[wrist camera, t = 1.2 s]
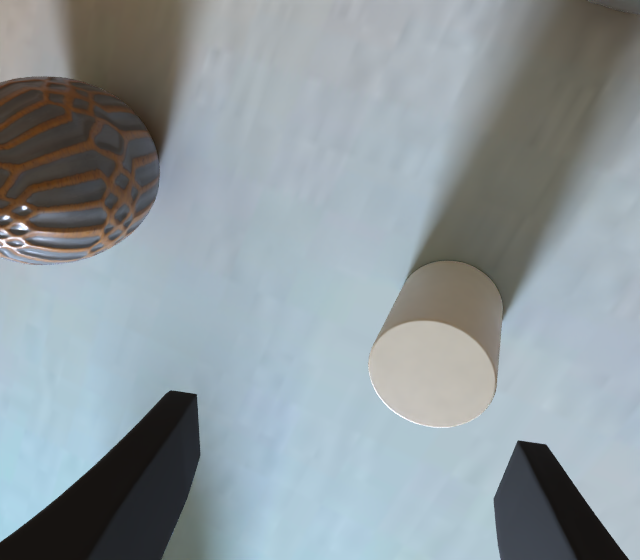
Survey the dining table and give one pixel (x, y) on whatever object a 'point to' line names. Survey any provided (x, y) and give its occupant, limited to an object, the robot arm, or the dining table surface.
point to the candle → (440, 346)
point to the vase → (70, 170)
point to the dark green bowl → (620, 5)
